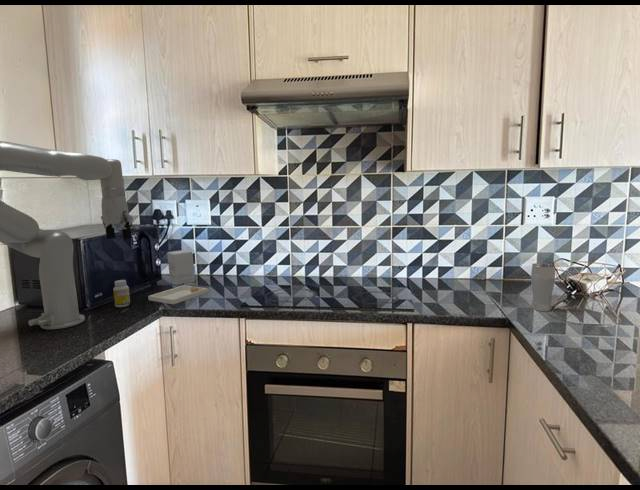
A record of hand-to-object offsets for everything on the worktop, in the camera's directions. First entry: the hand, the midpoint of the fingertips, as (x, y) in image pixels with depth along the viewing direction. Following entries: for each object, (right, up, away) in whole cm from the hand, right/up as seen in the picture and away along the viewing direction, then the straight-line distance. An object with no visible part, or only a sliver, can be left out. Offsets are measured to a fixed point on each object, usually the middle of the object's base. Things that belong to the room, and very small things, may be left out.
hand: (119, 238), depth 150 cm
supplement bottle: (0, -26, +3) cm, 26 cm away
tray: (+19, -24, +10) cm, 32 cm away
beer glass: (+151, -24, -16) cm, 153 cm away
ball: (+25, -22, +13) cm, 36 cm away
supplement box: (+12, -20, +36) cm, 43 cm away
